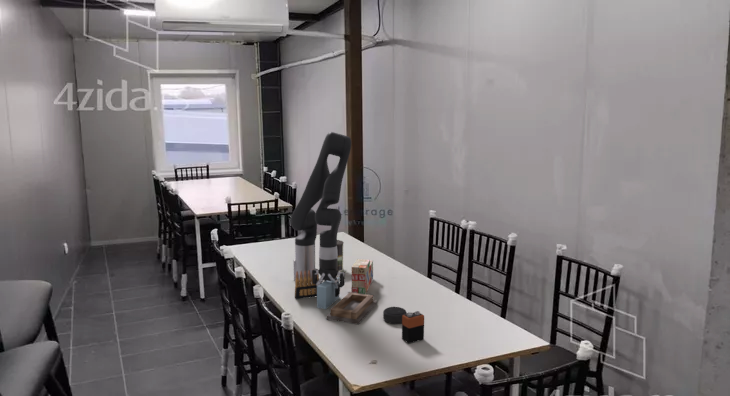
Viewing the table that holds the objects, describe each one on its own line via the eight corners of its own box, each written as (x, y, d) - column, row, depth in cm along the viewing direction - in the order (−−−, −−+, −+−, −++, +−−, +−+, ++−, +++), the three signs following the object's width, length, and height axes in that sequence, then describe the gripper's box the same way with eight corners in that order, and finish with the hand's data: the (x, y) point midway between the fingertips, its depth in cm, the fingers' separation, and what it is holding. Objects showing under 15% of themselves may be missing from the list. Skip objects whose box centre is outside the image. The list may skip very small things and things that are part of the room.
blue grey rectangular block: (317, 308, 222) (316, 286, 220) (330, 296, 235) (330, 276, 233) (326, 309, 221) (326, 287, 219) (339, 297, 234) (339, 277, 232)
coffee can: (338, 273, 266) (338, 245, 264) (319, 271, 270) (318, 243, 268) (346, 268, 276) (346, 240, 273) (328, 265, 280) (328, 238, 277)
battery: (401, 339, 193) (401, 312, 191) (416, 335, 196) (417, 308, 194) (408, 344, 189) (409, 316, 187) (424, 339, 192) (425, 312, 191)
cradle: (326, 319, 210) (326, 309, 209) (347, 300, 230) (347, 291, 230) (358, 324, 205) (358, 314, 205) (376, 304, 226) (377, 295, 225)
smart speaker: (399, 326, 204) (399, 316, 203) (378, 321, 209) (379, 311, 208) (410, 318, 211) (410, 309, 211) (390, 314, 216) (390, 304, 215)
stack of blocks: (360, 278, 260) (360, 253, 258) (373, 279, 259) (373, 254, 256) (351, 293, 239) (351, 266, 237) (365, 294, 238) (365, 267, 236)
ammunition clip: (295, 299, 231) (295, 271, 229) (294, 297, 233) (294, 270, 231) (320, 296, 235) (320, 269, 233) (318, 294, 237) (318, 268, 235)
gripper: (308, 257, 223) (308, 295, 226) (341, 260, 218) (341, 300, 221) (316, 252, 230) (316, 290, 233) (348, 255, 225) (347, 294, 228)
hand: (328, 295), depth 227 cm, fingers open, 7 cm apart
